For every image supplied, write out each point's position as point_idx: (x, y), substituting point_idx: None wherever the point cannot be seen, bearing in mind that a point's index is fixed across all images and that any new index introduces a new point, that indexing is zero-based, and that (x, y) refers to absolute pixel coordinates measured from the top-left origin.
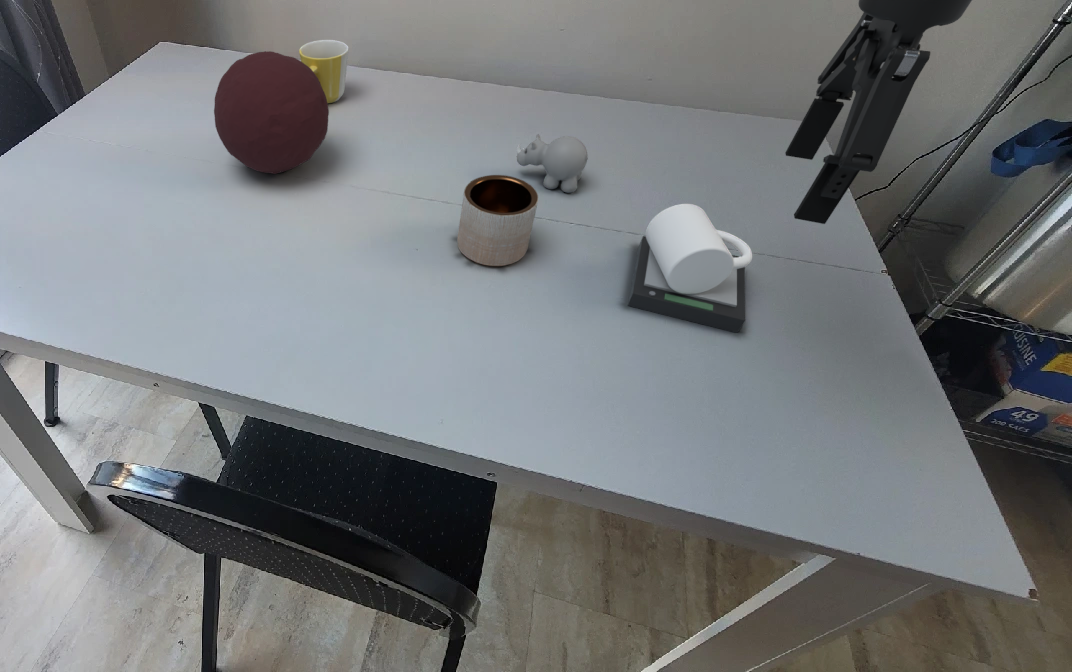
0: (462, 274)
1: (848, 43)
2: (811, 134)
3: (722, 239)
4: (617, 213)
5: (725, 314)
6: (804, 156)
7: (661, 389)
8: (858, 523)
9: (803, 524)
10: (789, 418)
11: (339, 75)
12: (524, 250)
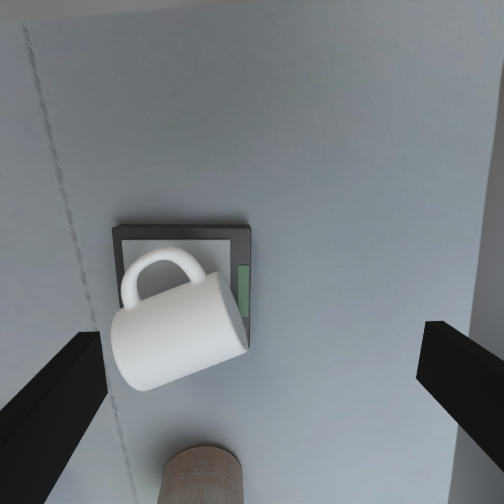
0: (260, 481)
1: None
2: (60, 424)
3: (136, 286)
4: None
5: (248, 250)
6: (99, 356)
7: (359, 292)
8: (471, 123)
9: (481, 171)
10: (363, 175)
11: None
12: (213, 455)
